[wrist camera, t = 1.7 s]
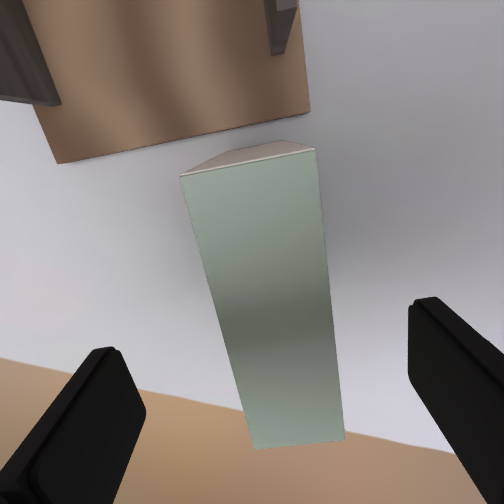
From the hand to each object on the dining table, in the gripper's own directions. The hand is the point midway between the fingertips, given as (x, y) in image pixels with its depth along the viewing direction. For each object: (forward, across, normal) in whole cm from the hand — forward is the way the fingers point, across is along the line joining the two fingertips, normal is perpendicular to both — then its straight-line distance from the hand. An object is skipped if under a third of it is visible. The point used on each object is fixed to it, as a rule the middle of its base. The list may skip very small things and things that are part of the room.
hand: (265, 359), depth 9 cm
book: (+15, -1, 0) cm, 15 cm away
